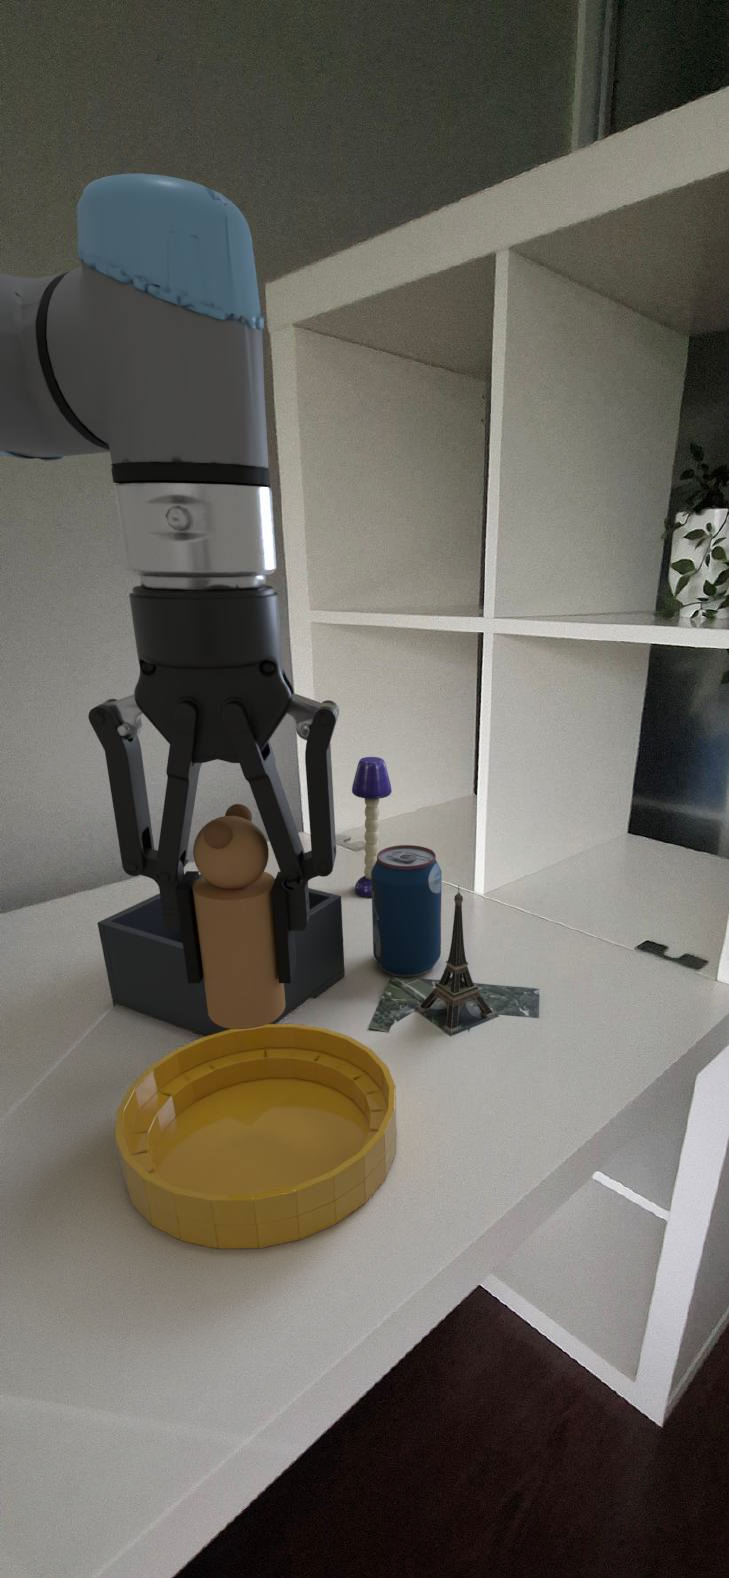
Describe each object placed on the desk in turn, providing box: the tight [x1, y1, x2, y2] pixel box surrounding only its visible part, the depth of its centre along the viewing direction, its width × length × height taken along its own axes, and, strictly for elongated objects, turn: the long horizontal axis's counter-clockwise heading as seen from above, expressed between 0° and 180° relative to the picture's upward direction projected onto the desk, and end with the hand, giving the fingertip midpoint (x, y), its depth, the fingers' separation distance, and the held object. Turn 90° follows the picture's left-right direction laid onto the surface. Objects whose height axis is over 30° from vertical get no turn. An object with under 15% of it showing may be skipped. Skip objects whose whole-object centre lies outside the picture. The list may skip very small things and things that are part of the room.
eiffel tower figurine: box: [368, 886, 541, 1038], centre depth 71 cm, size 15×10×13 cm
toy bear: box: [192, 803, 285, 1029], centre depth 50 cm, size 5×5×14 cm
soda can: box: [371, 844, 443, 978], centre depth 80 cm, size 7×7×12 cm
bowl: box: [114, 1023, 397, 1250], centre depth 57 cm, size 19×19×4 cm
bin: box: [96, 873, 346, 1037], centre depth 76 cm, size 16×16×9 cm
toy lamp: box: [351, 756, 393, 898], centre depth 96 cm, size 5×5×17 cm
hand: (243, 972), depth 52 cm, fingers closed on toy bear, 5 cm apart
